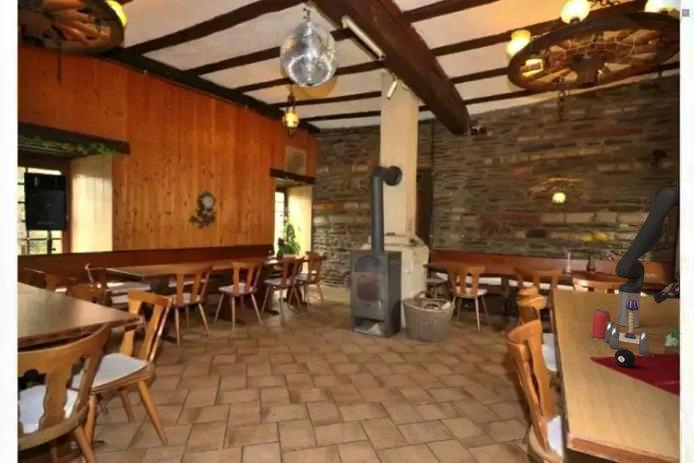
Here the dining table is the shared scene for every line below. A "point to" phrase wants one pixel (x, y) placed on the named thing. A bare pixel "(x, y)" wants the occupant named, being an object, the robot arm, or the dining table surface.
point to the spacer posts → (613, 338)
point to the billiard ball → (625, 357)
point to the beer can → (600, 323)
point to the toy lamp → (631, 317)
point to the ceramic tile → (622, 338)
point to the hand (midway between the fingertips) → (655, 300)
